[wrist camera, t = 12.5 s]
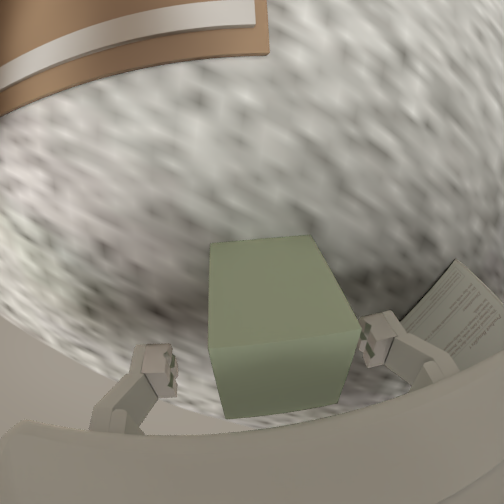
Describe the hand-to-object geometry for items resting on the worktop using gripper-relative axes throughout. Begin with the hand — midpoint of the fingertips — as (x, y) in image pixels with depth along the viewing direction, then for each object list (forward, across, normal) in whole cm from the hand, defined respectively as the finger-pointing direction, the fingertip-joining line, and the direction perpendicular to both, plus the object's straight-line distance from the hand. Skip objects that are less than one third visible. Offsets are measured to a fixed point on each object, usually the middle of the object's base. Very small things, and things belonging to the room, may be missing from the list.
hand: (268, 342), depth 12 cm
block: (+3, 0, -1) cm, 3 cm away
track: (+3, +10, -16) cm, 19 cm away
